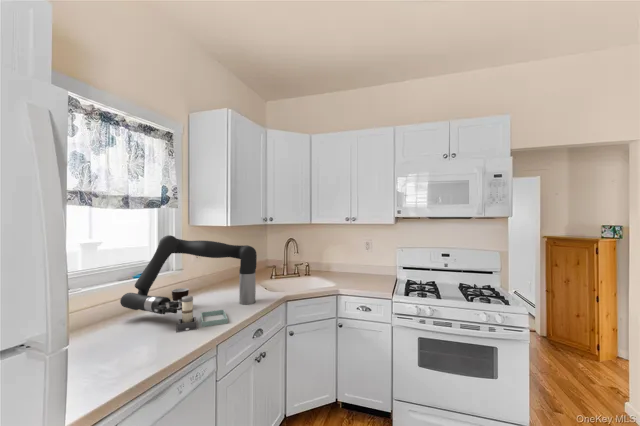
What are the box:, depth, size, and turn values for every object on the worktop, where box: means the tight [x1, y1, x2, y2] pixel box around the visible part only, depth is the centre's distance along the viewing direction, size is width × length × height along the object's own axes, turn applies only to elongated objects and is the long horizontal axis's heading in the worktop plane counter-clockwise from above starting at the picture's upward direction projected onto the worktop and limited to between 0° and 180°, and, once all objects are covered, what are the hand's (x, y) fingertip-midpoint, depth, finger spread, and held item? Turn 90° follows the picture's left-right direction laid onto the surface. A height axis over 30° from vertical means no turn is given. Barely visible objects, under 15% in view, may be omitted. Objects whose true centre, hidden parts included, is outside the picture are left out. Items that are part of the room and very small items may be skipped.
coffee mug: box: [171, 287, 190, 311], centre depth 164 cm, size 12×9×10 cm
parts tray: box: [200, 309, 229, 328], centre depth 141 cm, size 15×11×3 cm
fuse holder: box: [175, 316, 199, 333], centre depth 132 cm, size 12×9×4 cm
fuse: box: [181, 295, 194, 323], centre depth 132 cm, size 5×5×13 cm
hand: (184, 308), depth 133 cm, fingers open, 8 cm apart
